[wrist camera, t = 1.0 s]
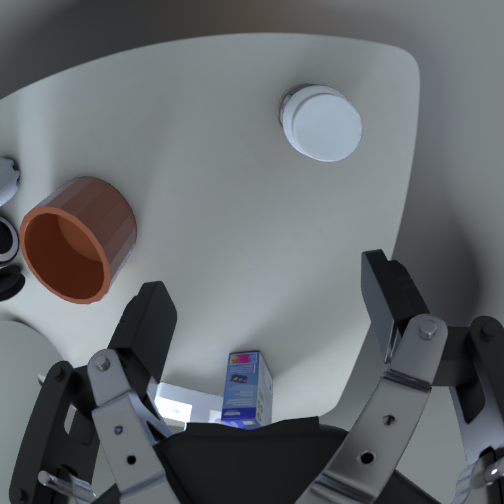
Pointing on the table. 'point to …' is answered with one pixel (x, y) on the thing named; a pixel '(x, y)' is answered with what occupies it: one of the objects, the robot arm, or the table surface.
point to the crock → (79, 239)
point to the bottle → (7, 180)
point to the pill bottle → (319, 122)
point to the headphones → (3, 252)
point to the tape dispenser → (188, 404)
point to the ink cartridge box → (247, 392)
